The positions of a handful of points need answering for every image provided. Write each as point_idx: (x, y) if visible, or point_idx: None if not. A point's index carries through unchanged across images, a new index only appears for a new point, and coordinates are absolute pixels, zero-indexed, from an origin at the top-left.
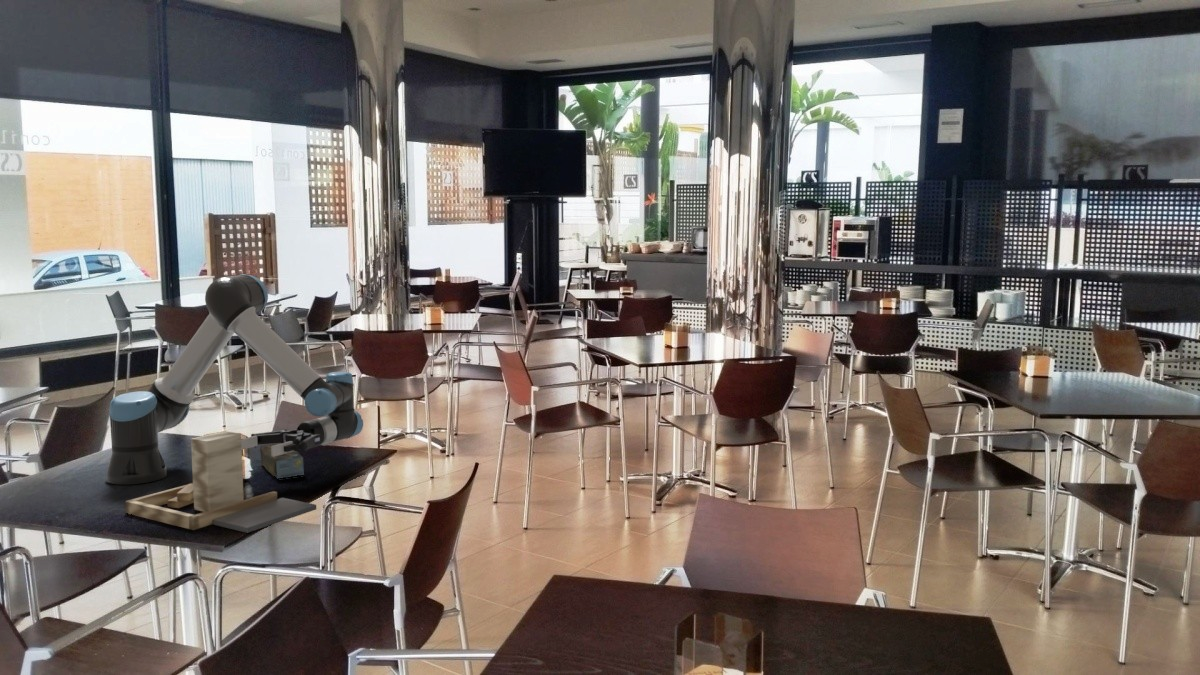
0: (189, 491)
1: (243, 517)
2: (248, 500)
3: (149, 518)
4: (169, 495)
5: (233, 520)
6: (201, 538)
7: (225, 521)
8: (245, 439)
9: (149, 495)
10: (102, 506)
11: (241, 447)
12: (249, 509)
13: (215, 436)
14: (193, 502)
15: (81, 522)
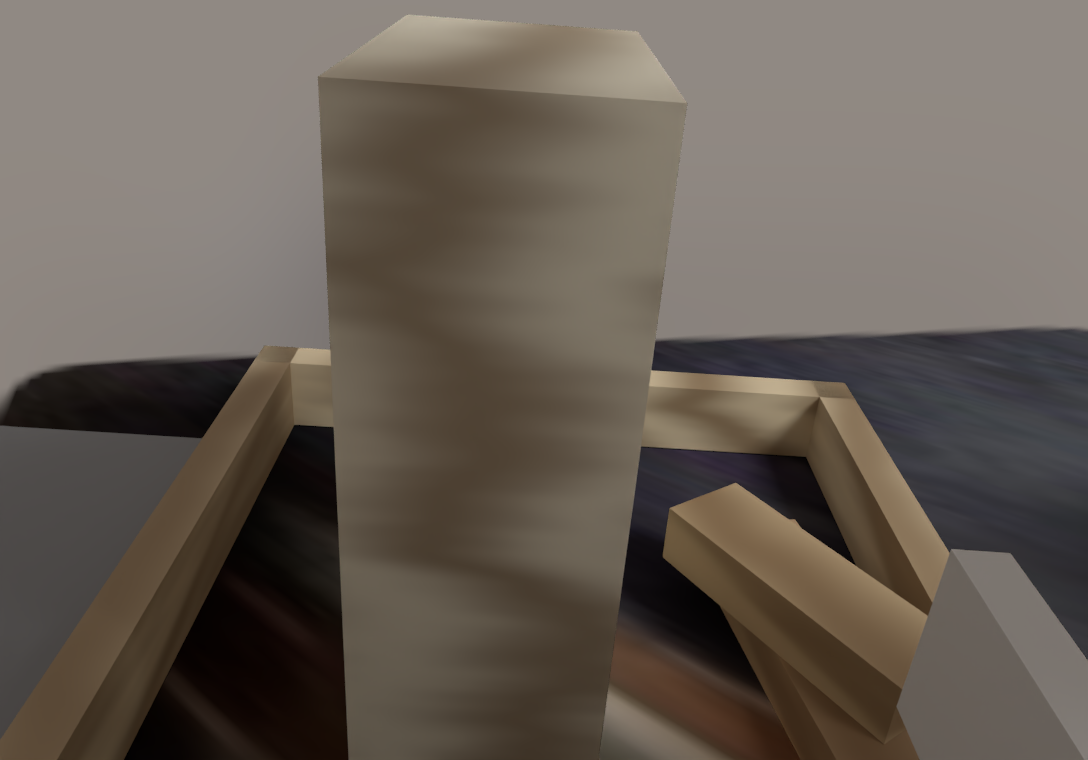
0: (709, 527)
1: (36, 501)
2: (110, 585)
3: None
4: (885, 559)
5: (77, 459)
6: (149, 369)
7: (121, 441)
8: (1045, 725)
9: (874, 456)
10: (1055, 462)
11: (940, 743)
12: (84, 606)
13: (507, 45)
14: (750, 663)
15: (823, 353)
